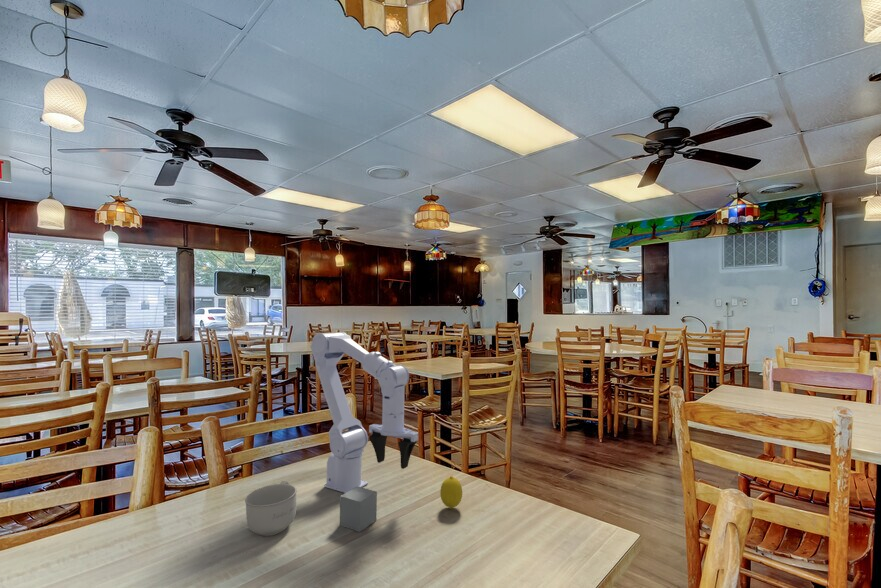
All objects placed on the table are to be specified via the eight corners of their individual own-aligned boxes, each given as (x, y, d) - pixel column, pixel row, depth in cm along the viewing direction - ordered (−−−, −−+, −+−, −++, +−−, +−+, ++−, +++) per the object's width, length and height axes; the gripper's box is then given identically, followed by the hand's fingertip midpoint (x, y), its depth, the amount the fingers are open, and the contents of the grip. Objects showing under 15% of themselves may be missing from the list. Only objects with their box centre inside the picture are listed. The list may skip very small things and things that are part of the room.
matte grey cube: (339, 525, 94) (340, 495, 94) (356, 513, 99) (357, 486, 99) (359, 532, 91) (360, 502, 91) (376, 519, 96) (376, 491, 96)
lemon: (453, 516, 98) (454, 483, 98) (435, 509, 101) (436, 477, 102) (466, 507, 103) (466, 475, 103) (448, 501, 106) (449, 470, 106)
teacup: (278, 545, 85) (279, 506, 86) (233, 538, 88) (234, 501, 88) (311, 512, 99) (312, 479, 99) (272, 507, 101) (273, 475, 102)
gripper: (361, 411, 107) (360, 463, 106) (407, 419, 99) (406, 475, 99) (378, 406, 113) (377, 455, 112) (422, 413, 106) (422, 466, 105)
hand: (392, 464), depth 106 cm, fingers open, 7 cm apart
